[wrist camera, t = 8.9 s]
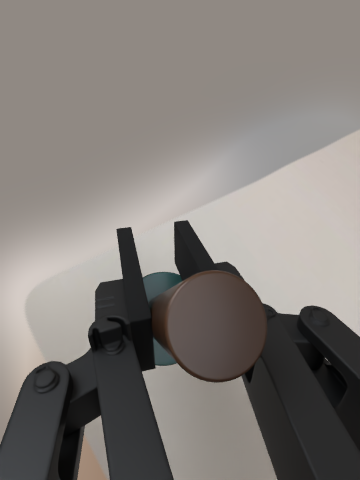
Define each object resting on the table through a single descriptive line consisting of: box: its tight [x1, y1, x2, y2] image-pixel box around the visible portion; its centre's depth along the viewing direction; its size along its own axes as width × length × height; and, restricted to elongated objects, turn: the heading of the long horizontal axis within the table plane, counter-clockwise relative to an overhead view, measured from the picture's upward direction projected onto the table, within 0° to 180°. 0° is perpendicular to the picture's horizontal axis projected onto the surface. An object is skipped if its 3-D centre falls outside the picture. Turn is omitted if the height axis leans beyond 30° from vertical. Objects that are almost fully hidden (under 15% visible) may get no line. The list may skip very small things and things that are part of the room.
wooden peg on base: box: [143, 270, 267, 383], centre depth 12 cm, size 5×5×13 cm
